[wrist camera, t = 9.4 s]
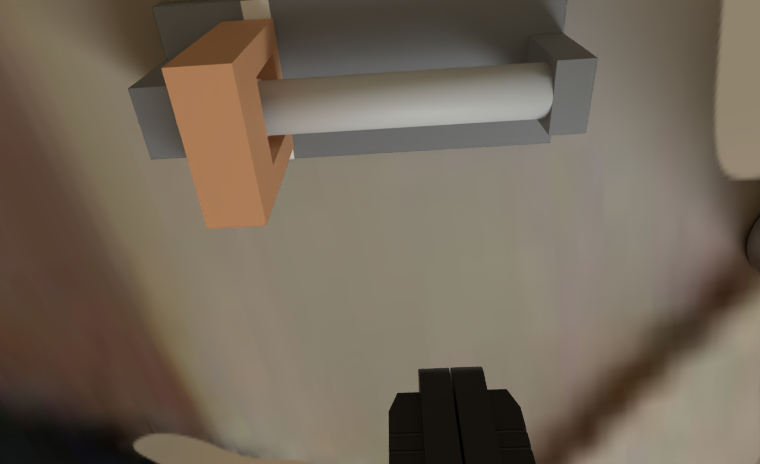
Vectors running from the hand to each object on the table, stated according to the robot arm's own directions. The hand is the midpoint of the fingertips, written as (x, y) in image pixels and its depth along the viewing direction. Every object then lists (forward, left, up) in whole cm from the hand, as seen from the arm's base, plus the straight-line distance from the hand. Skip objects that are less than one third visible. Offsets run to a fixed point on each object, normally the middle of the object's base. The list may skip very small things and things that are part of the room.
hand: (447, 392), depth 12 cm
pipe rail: (+3, -1, -25) cm, 25 cm away
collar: (+9, -1, -24) cm, 25 cm away
